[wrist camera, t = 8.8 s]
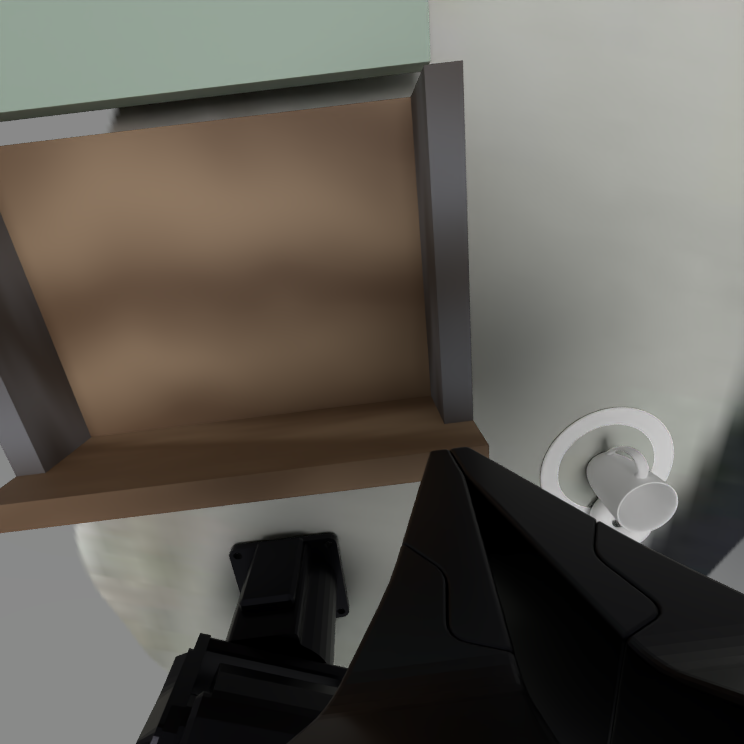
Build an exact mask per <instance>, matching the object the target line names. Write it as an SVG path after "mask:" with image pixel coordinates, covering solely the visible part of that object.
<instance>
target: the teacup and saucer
mask: <svg viewBox="0 0 744 744" xmlns="http://www.w3.org/2000/svg"><path fill="white" fill-rule="evenodd" d="M617 424H618V425H627V426H631V427H634V428H636V429H638V430H640V431H641V432H643V433H644V434H645V435H646V436H647V437H648V439H649V440H650V442H651V444H652V446H653V450H654V464H653V468H652V471H649V466H648V463H647V461H646V459H645V457H644V456H643V454H642V453H641V452H639V451H638V450H636V449H635V448H632V447H629V446H617V447H613V448H611V449H609V450H608V451H607V452H604V453H601V454H598V455H597V456H595V457H594V458H593V459H592V460H591V461H590V462H589V464H588V466H587V478H588V481H589V483H590V485H591V487H592V489H593V490H594V492H595V493H596V495H597V496H598V498H599V499H598V500H597V501H596V502H595V503H594V505H593V506H592V508H590V507H584V506H581V505H578V504H576V503H574V502H572V501H571V500H569V499H568V498H567V497H566V496H565V495H564V493H563V492H562V490H561V488H560V485H559V481H558V470H559V466H560V463H561V460H562V458H563V456H564V454H565V453H566V451H567V450H568V448H569V447H570V446H571V445H572V444H573V443H574V442H575V441H576V440H577V439H578V438H580V437H581V436H583V435H584V434H586V433H587V432H589V431H591V430H594V429H596V428H599V427H602V426H607V425H617ZM616 451H622V452H625V453H627V454H629V455H630V456H631V457H632V458H633V460H634V461H633V460H631V459H630V458H627V457H625V456H623V455H620V454H617V453H615V452H616ZM673 459H674V445H673V441H672V437H671V435H670V433H669V431H668V429H667V428H666V426H665V425H664V424H663V423H662V422H661V421H660V420H659V419H658V418H657V417H655V416H654V415H652V414H650V413H648V412H646V411H643V410H640V409H636V408H629V407H615V408H608V409H603V410H600V411H596V412H594V413H591V414H589V415H586V416H584V417H582V418H581V419H579V420H577V421H576V422H574V423H573V424H571V425H570V426H569V427H567V428H566V429H565V430H564V431H563V432H562V433H561V434H560V435H559V436H558V437H557V438H556V439H555V441H554V442H553V443H552V445H551V446H550V448H549V449H548V451H547V453H546V455H545V458H544V460H543V463H542V467H541V473H540V483H541V488H542V489H544V490H546V491H547V492H549V493H551V494H553V495H554V496H556V497H558V498H560V499H561V500H563V501H565V502H567V503H569V504H570V505H572V506H574V507H576V508H577V509H579V510H581V511H583V512H585V513H586V514H588V515H590V516H592V517H593V518H595V519H596V520H597V522H598V521H601V522H603V523H604V524H606V525H608V526H610V527H611V528H613V529H615V530H617V531H618V532H620V533H622V534H624V535H626V536H628V537H630V538H631V539H633V540H635V541H637V542H639V543H641V542H642V541H643V540H644V539H646V537H647V536H648V535H649V534H650V532H651V531H652V530H654V529H657V528H659V527H660V526H662V525H664V524H665V523H666V522H667V521H668V520H669V519H670V518H671V517H672V516H673V514H674V513H675V511H676V509H677V505H678V496H677V493H676V491H675V490H674V489H673V488H672V487H671V486H670V485H669V484H667V483H666V482H665V481H666V480H667V478H668V476H669V473H670V471H671V468H672V464H673ZM615 519H616V520H617V521H618V523H619V524H620V525H621V527H615V526H613V525H612V520H615Z"/></svg>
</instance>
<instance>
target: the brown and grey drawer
mask: <svg viewBox="0 0 744 744" xmlns="http://www.w3.org/2000/svg"><path fill="white" fill-rule="evenodd" d="M0 444H1V446H2V448H3V450H4V452H5V454H6V456H7V458H8V460H9V462H10V464H11V466H12V468H13V470H14V472H15V474H16V477H15V478H14V479H12V480H11V481H10V482H8V483H7V484H5V485H4V486H3V487H1V488H0V533H5V532H13V531H22V530H30V529H38V528H45V527H54V526H62V525H70V524H78V523H87V522H95V521H103V520H111V519H119V518H127V517H135V516H143V515H151V514H160V513H168V512H176V511H184V510H192V509H200V508H208V507H216V506H225V505H233V504H241V503H249V502H257V501H265V500H273V499H281V498H290V497H298V496H306V495H314V494H322V493H330V492H338V491H346V490H354V489H363V488H371V487H379V486H387V485H395V484H403V483H411V482H419V481H421V480H422V477H423V473H424V470H425V467H426V464H427V460H428V457H429V454H430V452H431V451H435V450H443V449H447V450H449V451H450V449H452V448H459V447H469V448H471V449H473V450H475V451H476V452H478V453H480V454H482V455H484V456H485V457H487V458H489V445H488V443H487V441H486V440H485V438H484V437H483V435H482V434H481V432H480V430H479V429H478V427H477V426H476V424H475V423H474V421H473V397H472V363H471V328H470V293H469V259H468V224H467V189H466V155H465V120H464V85H463V60H462V61H454V62H445V63H437V64H429V65H424V66H423V69H422V71H421V74H420V76H419V78H418V81H417V83H416V85H415V88H414V90H413V93H412V95H411V97H406V98H397V99H389V100H380V101H372V102H364V103H355V104H347V105H339V106H330V107H322V108H314V109H305V110H297V111H289V112H280V113H272V114H264V115H255V116H247V117H238V118H230V119H222V120H213V121H205V122H197V123H188V124H180V125H172V126H163V127H155V128H147V129H138V130H130V131H122V132H113V133H105V134H97V135H88V136H80V137H71V138H63V139H55V140H46V141H39V142H30V143H21V144H13V145H5V146H0Z"/></svg>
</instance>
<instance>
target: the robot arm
mask: <svg viewBox="0 0 744 744" xmlns="http://www.w3.org/2000/svg"><path fill="white" fill-rule="evenodd" d="M328 541H329V542H332V543H326V542H328ZM237 553H240V554H237ZM229 557H230V561H231V564H232V567H233V571H234V574H235V577H236V580H237V584H238V587H239V590H240V597H239V600H238V603H237V606H236V610H235V613H234V616H233V619H232V622H231V626H230V629H229V632H228V635H227V638H226V641H224V640H219V639H215V638H210V637H211V635H207V634H203V633H200V635H199V637H198V640H197V642H196V645H195V647H194V649H190V648H189V650H188V652H187V653H185V654H182V655H179V656H177V657H176V658H175V660H174V663H173V665H172V667H171V670H170V672H169V675H168V677H167V679H166V682H165V684H164V686H163V689H162V691H161V694H160V696H159V698H158V700H157V702H156V704H155V706H154V708H153V710H152V712H151V714H150V716H149V718H148V720H147V722H146V724H145V726H144V728H143V730H142V732H141V734H140V736H139V739H138V740H137V743H136V744H744V594H743V593H741V592H738V591H736V590H734V589H732V588H730V587H728V586H726V585H724V584H722V583H720V582H718V581H715V580H713V579H711V578H709V577H707V576H705V575H703V574H701V573H699V572H697V571H695V570H692V569H690V568H688V567H686V566H684V565H682V564H680V563H678V562H676V561H674V560H672V559H670V558H668V557H666V556H664V555H662V554H660V553H658V552H656V551H654V550H652V549H650V548H648V547H646V546H644V545H643V544H641V543H639V542H637V541H635V540H633V539H631V538H630V537H628V536H626V535H624V534H622V533H620V532H618V531H617V530H615V529H613V528H611V527H610V526H608V525H606V524H604V523H603V522H601V521H598V522H597V520H596V519H595V518H593V517H592V516H590V515H588V514H586V513H585V512H583V511H581V510H579V509H577V508H576V507H574V506H572V505H570V504H569V503H567V502H565V501H563V500H561V499H560V498H558V497H556V496H554V495H553V494H551V493H549V492H547V491H546V490H544V489H542V488H540V487H538V486H537V485H535V484H533V483H531V482H530V481H528V480H526V479H524V478H522V477H521V476H519V475H517V474H515V473H514V472H512V471H510V470H508V469H507V468H505V467H503V466H501V465H499V464H498V463H496V462H494V461H492V460H491V459H489V458H487V457H485V456H484V455H482V454H480V453H478V452H476V451H475V450H473V449H471V448H469V447H459V448H452V449H450V451H449V450H447V449H443V450H435V451H431V452H430V454H429V457H428V460H427V464H426V467H425V470H424V473H423V477H422V480H421V483H420V487H419V490H418V493H417V497H416V500H415V503H414V506H413V510H412V513H411V516H410V520H409V523H408V526H407V530H406V533H405V536H404V539H403V543H402V546H401V549H400V552H399V555H398V558H397V562H396V564H395V567H394V570H393V573H392V576H391V579H390V581H389V584H388V586H387V588H386V591H385V593H384V595H383V597H382V600H381V602H380V604H379V606H378V608H377V610H376V612H375V614H374V617H373V619H372V621H371V623H370V625H369V627H368V629H367V631H366V633H365V635H364V637H363V639H362V641H361V643H360V645H359V647H358V649H357V651H356V653H355V655H354V657H353V659H352V661H351V663H350V665H349V667H348V668H345V667H340V666H336V665H333V663H334V642H335V621H336V618H338V617H344V616H346V615H348V613H349V602H348V597H347V591H346V586H345V580H344V575H343V569H342V564H341V558H340V553H339V547H338V542H337V538H336V536H335V535H333V534H330V533H327V534H319V535H311V536H303V537H295V538H287V539H279V540H270V541H262V542H254V543H246V544H238V545H235V546H233V547H232V549H231V551H230V554H229Z"/></svg>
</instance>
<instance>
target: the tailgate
mask: <svg viewBox="0 0 744 744" xmlns="http://www.w3.org/2000/svg"><path fill="white" fill-rule="evenodd" d="M429 63H430V36H429V11H428V0H0V122H2V121H11V120H19V119H28V118H36V117H44V116H53V115H61V114H68V113H78V112H86V111H94V110H103V109H111V108H120V107H128V106H137V105H145V104H153V103H162V102H170V101H178V100H187V99H195V98H203V97H212V96H220V95H229V94H237V93H245V92H254V91H262V90H270V89H279V88H287V87H296V86H304V85H312V84H321V83H329V82H337V81H346V80H354V79H362V78H371V77H379V76H388V75H396V74H404V73H413V72H421V71H422V69H423V66H424V65H428V64H429Z"/></svg>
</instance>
